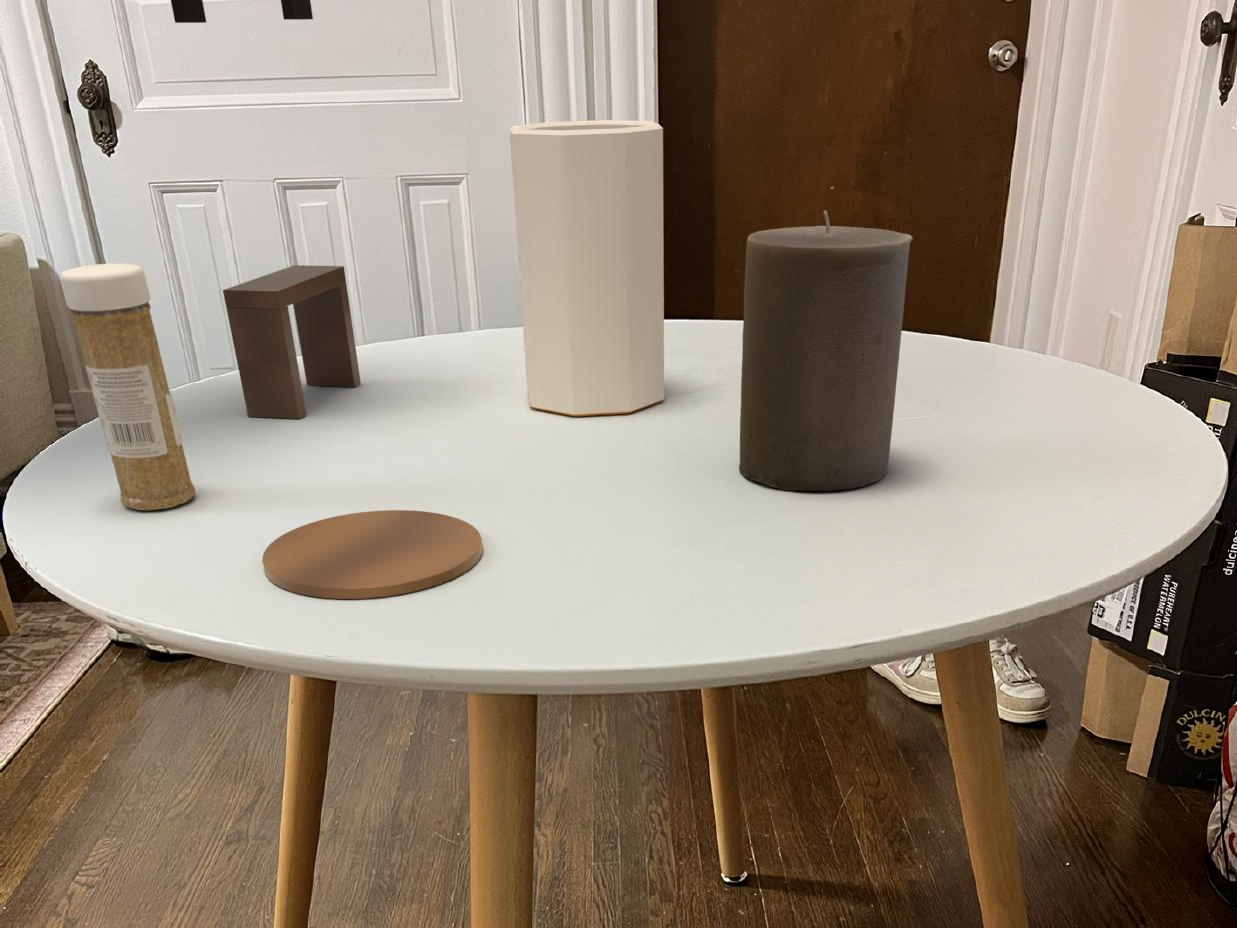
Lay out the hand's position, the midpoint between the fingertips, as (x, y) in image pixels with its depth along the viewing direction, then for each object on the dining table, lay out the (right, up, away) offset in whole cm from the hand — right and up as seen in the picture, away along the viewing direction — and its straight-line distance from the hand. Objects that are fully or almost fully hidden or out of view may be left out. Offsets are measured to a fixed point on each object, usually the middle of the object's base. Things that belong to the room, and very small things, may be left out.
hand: (244, 20), depth 78 cm
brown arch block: (0, -19, +16) cm, 25 cm away
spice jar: (-4, -33, -4) cm, 34 cm away
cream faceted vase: (+23, -20, +15) cm, 34 cm away
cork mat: (+11, -39, -13) cm, 42 cm away
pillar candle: (+38, -30, -1) cm, 48 cm away
